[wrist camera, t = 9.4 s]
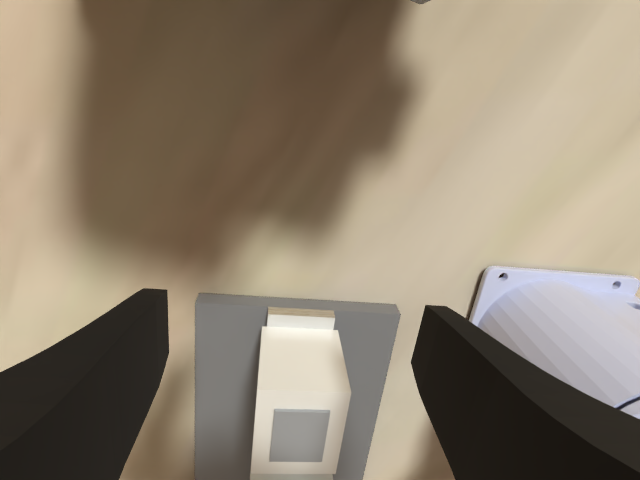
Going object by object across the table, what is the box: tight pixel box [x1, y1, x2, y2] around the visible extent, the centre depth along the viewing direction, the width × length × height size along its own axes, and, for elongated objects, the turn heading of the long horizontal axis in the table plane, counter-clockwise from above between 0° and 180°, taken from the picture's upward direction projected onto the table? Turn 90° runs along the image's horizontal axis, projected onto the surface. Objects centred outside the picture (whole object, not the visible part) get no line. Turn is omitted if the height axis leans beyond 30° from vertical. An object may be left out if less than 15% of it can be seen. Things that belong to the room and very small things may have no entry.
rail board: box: [195, 293, 401, 480], centre depth 23 cm, size 11×18×6 cm, turn 173°
